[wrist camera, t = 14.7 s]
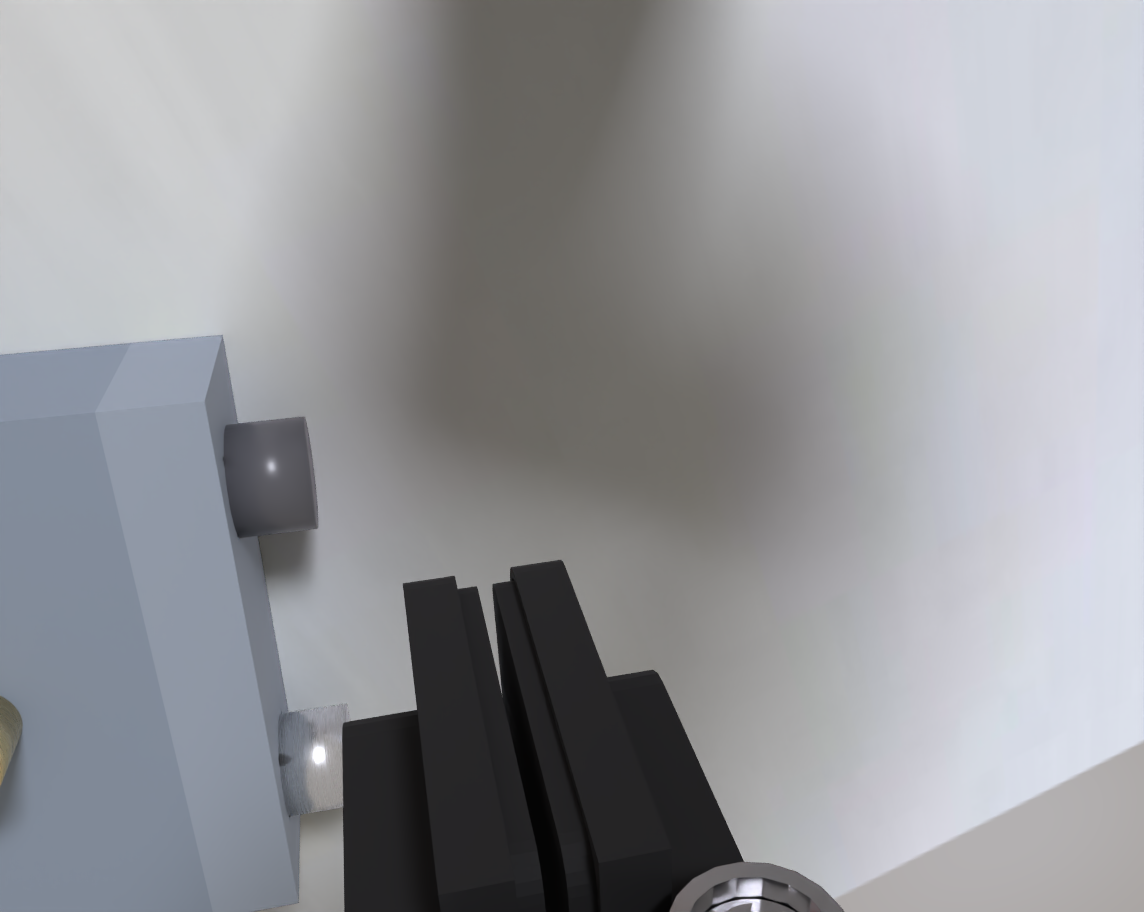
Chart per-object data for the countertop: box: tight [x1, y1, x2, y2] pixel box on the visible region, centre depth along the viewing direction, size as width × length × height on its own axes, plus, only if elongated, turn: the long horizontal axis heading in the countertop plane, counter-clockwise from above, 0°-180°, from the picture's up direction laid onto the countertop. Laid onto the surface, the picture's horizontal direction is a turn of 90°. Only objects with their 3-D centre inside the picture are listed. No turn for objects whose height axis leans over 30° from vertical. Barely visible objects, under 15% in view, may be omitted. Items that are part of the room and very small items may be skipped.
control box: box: [0, 335, 300, 912], centre depth 36 cm, size 10×20×6 cm, turn 2°
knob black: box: [223, 417, 318, 538], centre depth 34 cm, size 10×4×4 cm, turn 92°
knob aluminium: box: [278, 703, 350, 817], centre depth 39 cm, size 10×4×4 cm, turn 92°
